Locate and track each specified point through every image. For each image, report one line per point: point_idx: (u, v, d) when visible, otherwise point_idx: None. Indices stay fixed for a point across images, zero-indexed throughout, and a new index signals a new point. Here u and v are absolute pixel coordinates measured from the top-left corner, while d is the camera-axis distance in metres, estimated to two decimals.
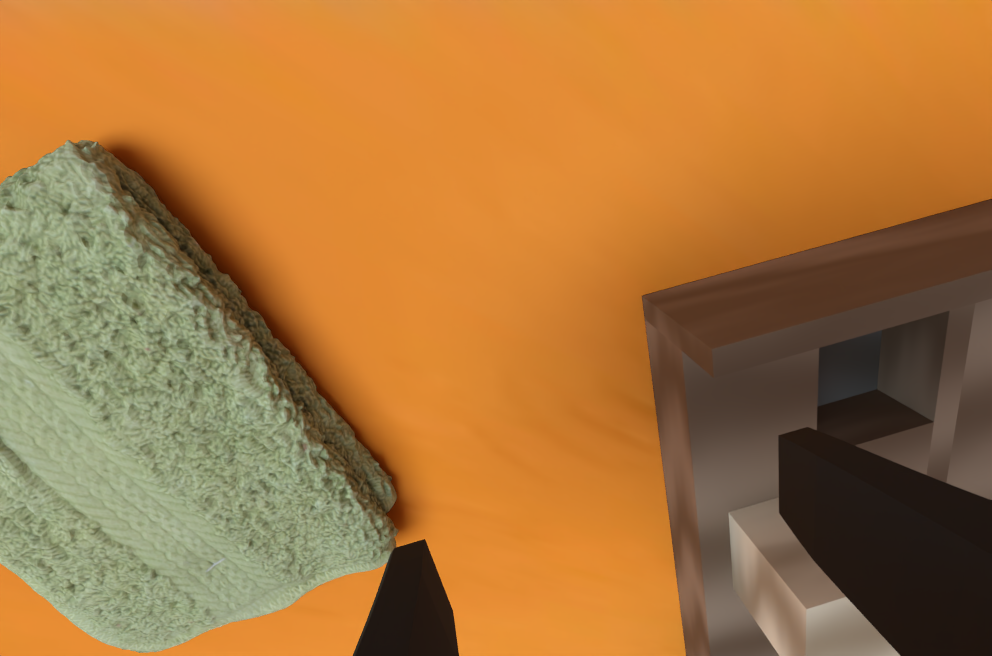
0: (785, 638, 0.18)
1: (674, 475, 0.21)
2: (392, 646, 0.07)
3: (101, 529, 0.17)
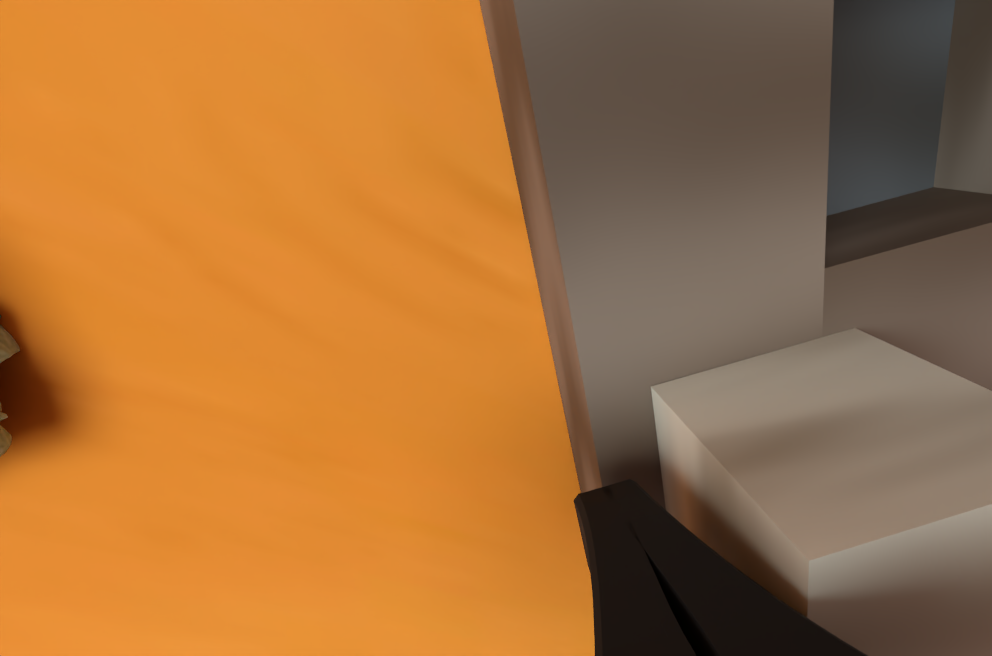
0: None
1: (556, 330, 0.11)
2: (635, 572, 0.07)
3: None
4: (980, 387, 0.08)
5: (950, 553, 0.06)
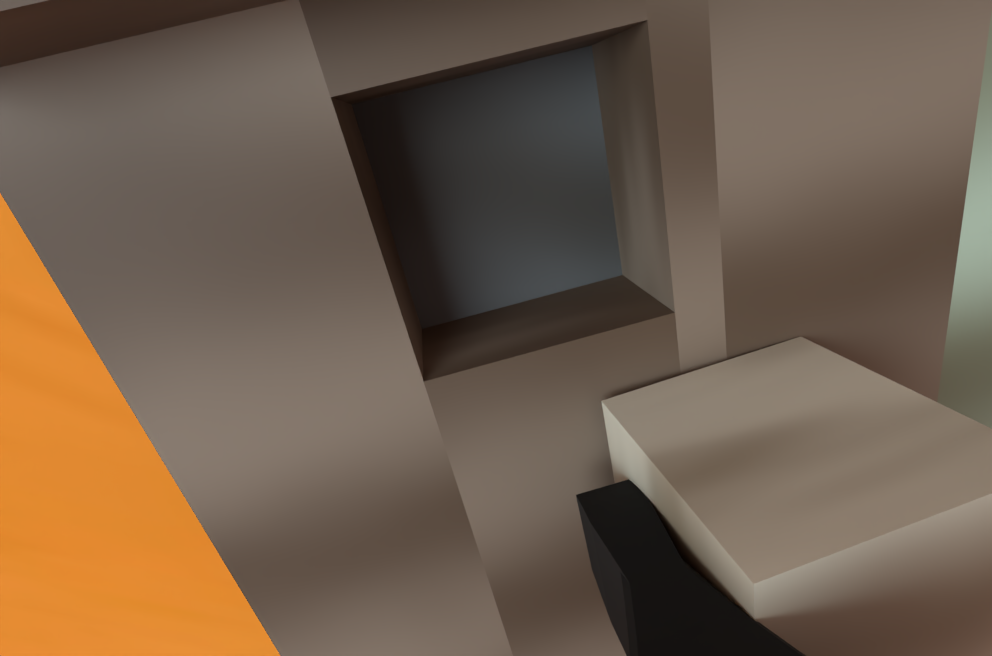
0: None
1: None
2: (664, 563, 0.07)
3: None
4: (919, 395, 0.08)
5: (893, 567, 0.06)
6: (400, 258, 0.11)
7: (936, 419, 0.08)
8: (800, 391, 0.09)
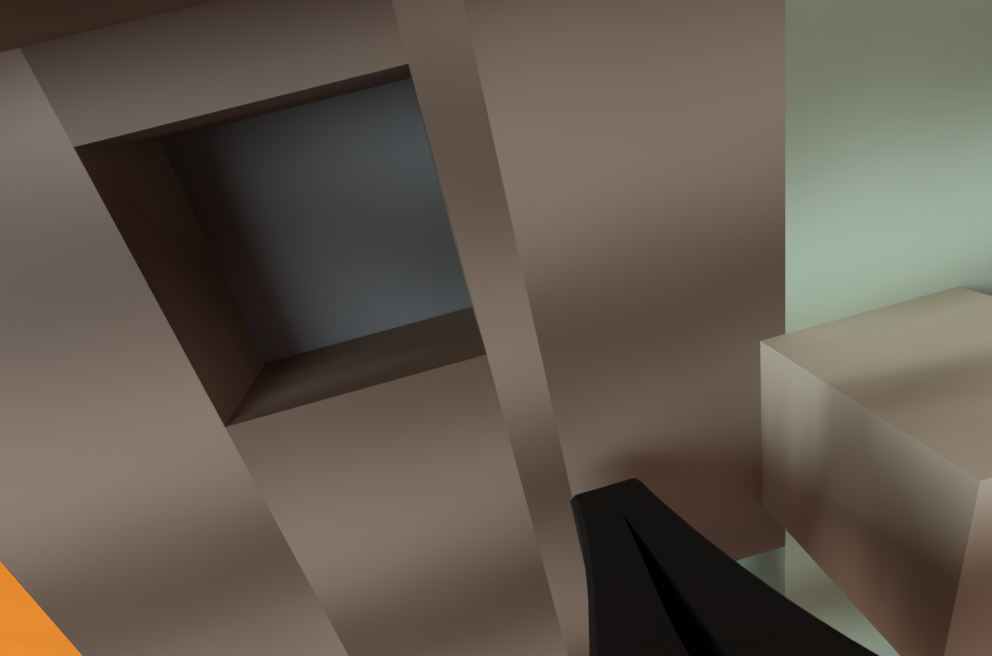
0: (889, 576, 0.08)
1: None
2: (630, 574, 0.07)
3: None
4: None
5: None
6: (232, 293, 0.11)
7: None
8: (975, 331, 0.09)
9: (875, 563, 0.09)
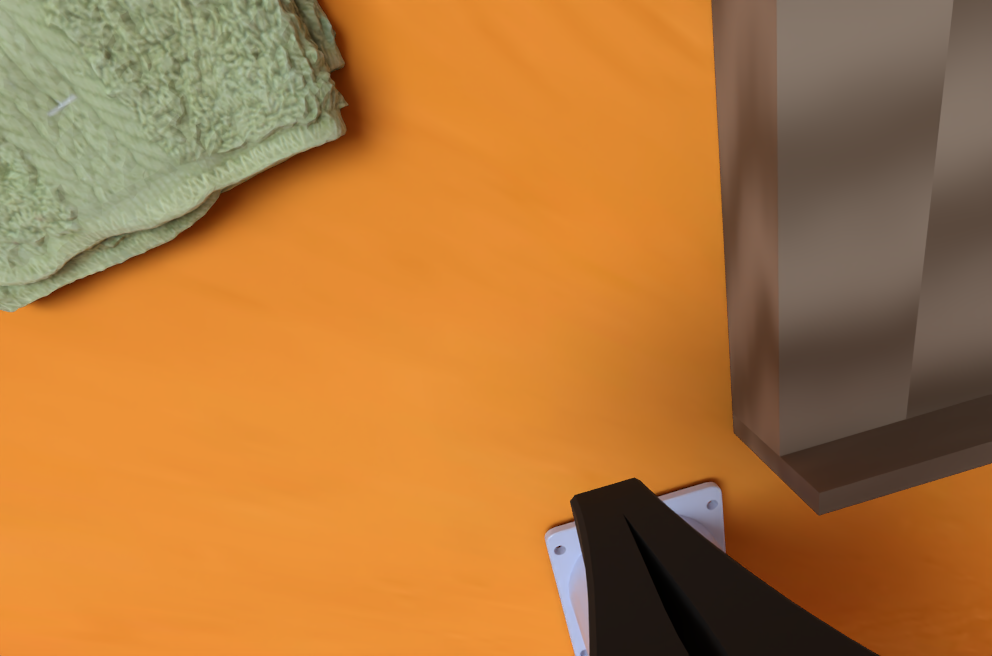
0: None
1: (737, 72, 0.15)
2: (630, 574, 0.07)
3: None
4: None
5: None
6: None
7: None
8: None
9: None
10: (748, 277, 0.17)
